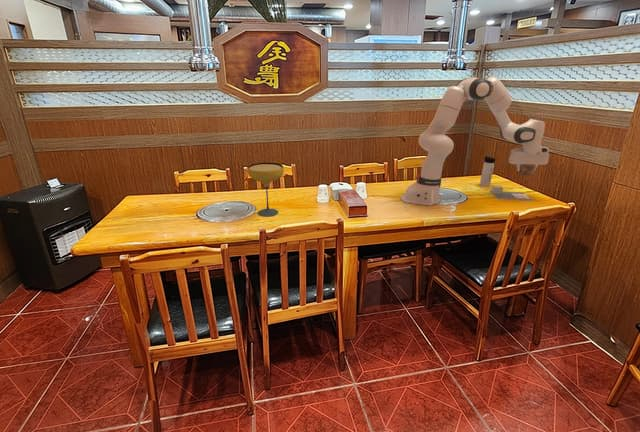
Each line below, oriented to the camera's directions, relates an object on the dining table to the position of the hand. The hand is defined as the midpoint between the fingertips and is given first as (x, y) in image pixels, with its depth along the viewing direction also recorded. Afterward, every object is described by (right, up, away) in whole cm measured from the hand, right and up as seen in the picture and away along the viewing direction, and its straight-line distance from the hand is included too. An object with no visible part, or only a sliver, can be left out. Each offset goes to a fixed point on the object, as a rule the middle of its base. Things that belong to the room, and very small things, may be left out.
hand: (525, 171), depth 202 cm
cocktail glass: (-148, -24, -19) cm, 151 cm away
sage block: (-11, -11, +12) cm, 20 cm away
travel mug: (-12, -7, +26) cm, 30 cm away
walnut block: (0, -1, +1) cm, 1 cm away
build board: (-5, -15, +7) cm, 17 cm away
